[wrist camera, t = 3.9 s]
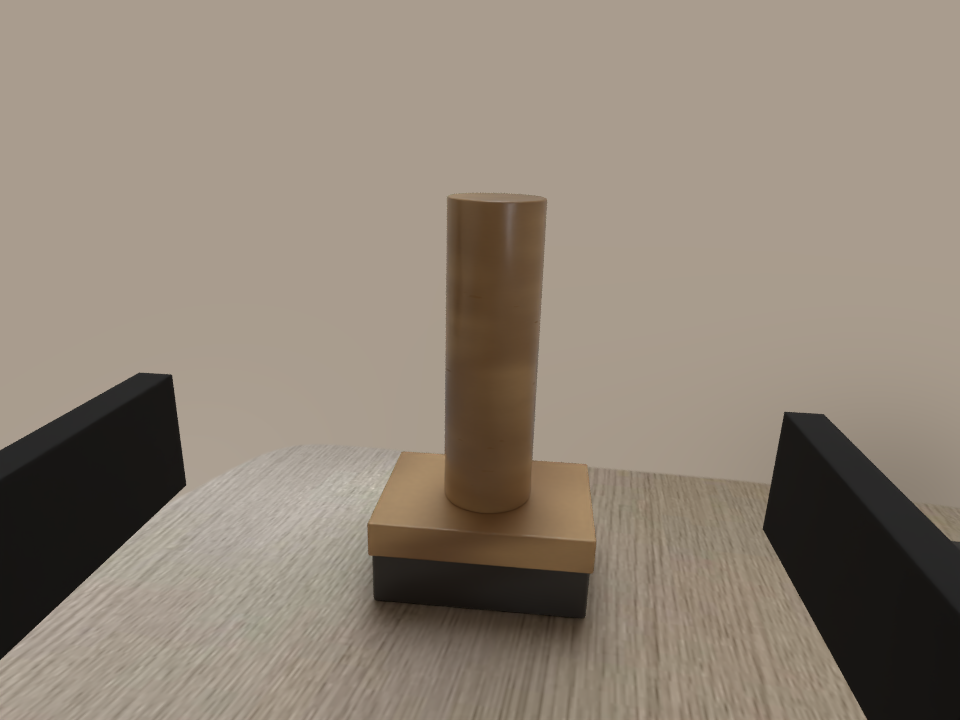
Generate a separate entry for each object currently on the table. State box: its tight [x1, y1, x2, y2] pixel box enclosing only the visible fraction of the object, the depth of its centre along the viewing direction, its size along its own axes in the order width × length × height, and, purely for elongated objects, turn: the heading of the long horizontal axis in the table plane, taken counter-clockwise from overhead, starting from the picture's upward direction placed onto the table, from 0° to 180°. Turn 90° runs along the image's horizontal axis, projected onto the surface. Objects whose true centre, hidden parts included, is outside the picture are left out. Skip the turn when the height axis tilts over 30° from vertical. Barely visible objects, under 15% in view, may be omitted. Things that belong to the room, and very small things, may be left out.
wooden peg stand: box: [367, 193, 596, 618], centre depth 22 cm, size 7×5×13 cm
